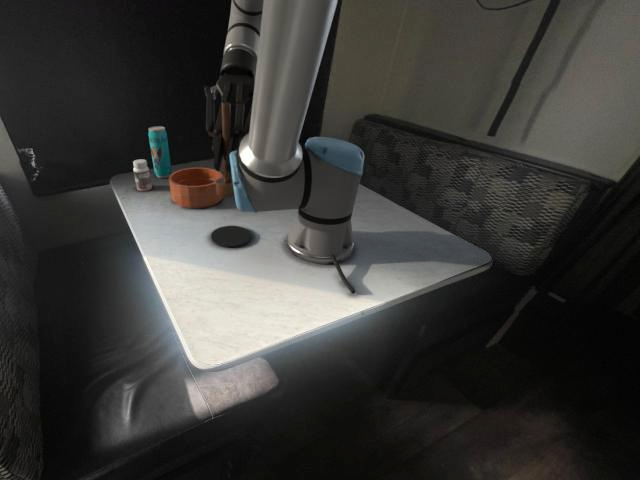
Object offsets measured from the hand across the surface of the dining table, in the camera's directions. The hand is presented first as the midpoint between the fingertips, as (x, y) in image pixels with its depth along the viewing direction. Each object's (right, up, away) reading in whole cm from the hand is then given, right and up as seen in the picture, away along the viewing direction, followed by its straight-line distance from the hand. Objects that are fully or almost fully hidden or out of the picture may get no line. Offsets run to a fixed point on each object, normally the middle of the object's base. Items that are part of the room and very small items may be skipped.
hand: (222, 168), depth 68 cm
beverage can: (-23, +16, +47) cm, 54 cm away
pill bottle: (-27, +9, +38) cm, 48 cm away
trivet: (+1, -12, +14) cm, 18 cm away
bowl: (-9, +4, +32) cm, 34 cm away
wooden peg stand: (+1, -3, +7) cm, 8 cm away
